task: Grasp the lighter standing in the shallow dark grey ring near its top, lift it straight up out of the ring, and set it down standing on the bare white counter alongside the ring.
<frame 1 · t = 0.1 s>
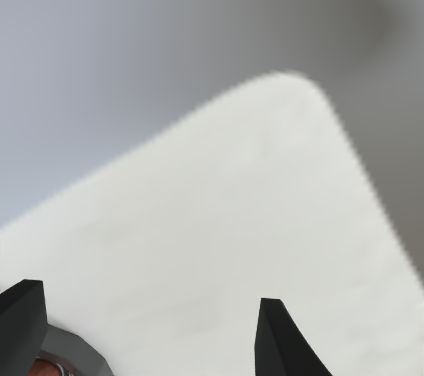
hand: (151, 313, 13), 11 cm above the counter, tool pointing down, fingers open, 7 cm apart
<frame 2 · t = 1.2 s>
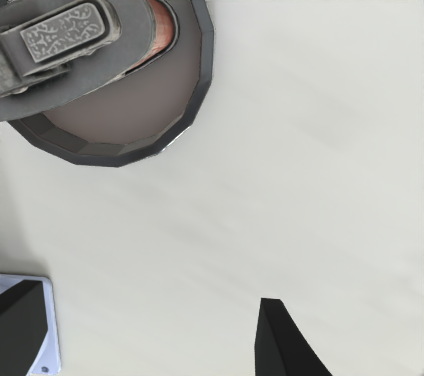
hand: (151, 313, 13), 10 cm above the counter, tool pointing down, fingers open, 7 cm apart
dark grey ring: (104, 47, 20), on the counter
lighter: (105, 47, 20), resting in dark grey ring
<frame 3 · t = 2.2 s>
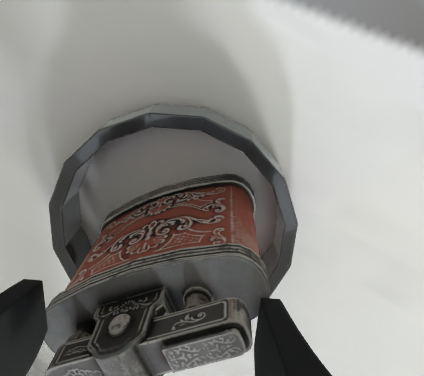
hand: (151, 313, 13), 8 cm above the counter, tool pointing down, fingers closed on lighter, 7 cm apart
dark grey ring: (177, 215, 20), on the counter
lighter: (178, 213, 20), resting in dark grey ring, touching gripper
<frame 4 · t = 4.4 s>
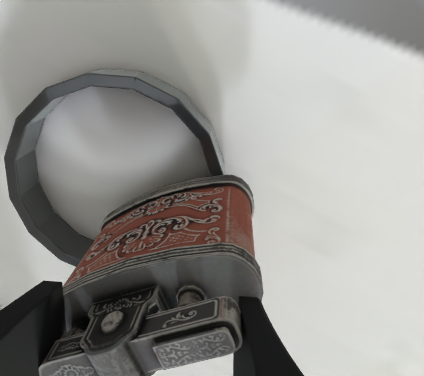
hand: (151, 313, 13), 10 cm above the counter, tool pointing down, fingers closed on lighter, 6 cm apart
dark grey ring: (124, 172, 22), on the counter
lighter: (177, 213, 20), point 3 cm above the counter, touching gripper
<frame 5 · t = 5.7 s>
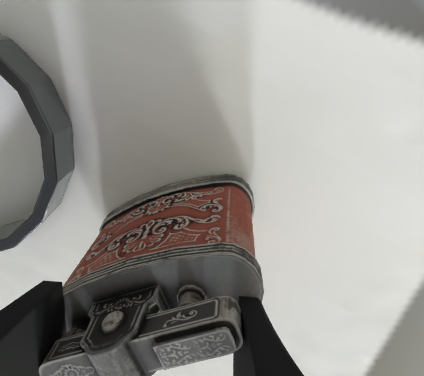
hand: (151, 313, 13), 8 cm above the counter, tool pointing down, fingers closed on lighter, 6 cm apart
lighter: (177, 213, 20), on the counter, touching gripper
when the fingers open (8 cm above the counter, at t = 6.5 s): lighter stays where it is, on the counter.
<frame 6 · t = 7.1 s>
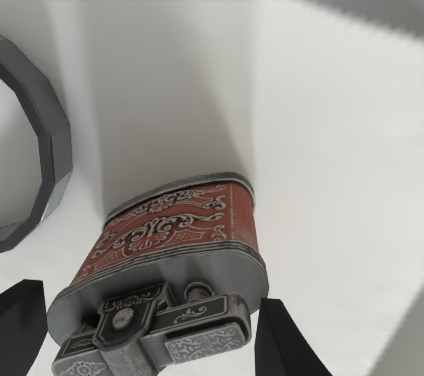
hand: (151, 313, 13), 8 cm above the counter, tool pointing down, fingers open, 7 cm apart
lighter: (179, 211, 20), on the counter
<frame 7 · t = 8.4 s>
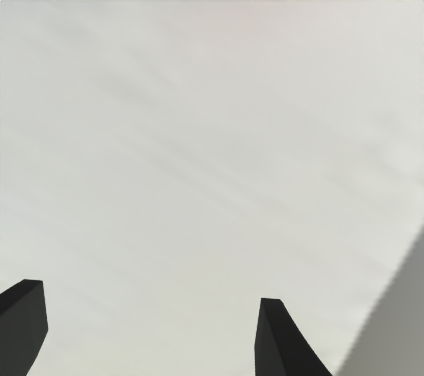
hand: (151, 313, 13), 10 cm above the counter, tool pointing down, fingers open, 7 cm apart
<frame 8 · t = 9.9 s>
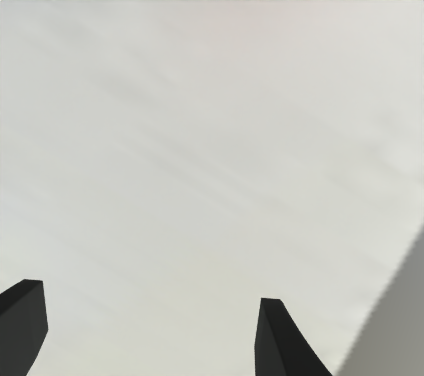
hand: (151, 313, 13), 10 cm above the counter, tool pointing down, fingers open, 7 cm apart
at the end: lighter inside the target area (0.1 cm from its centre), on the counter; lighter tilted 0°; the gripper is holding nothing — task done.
